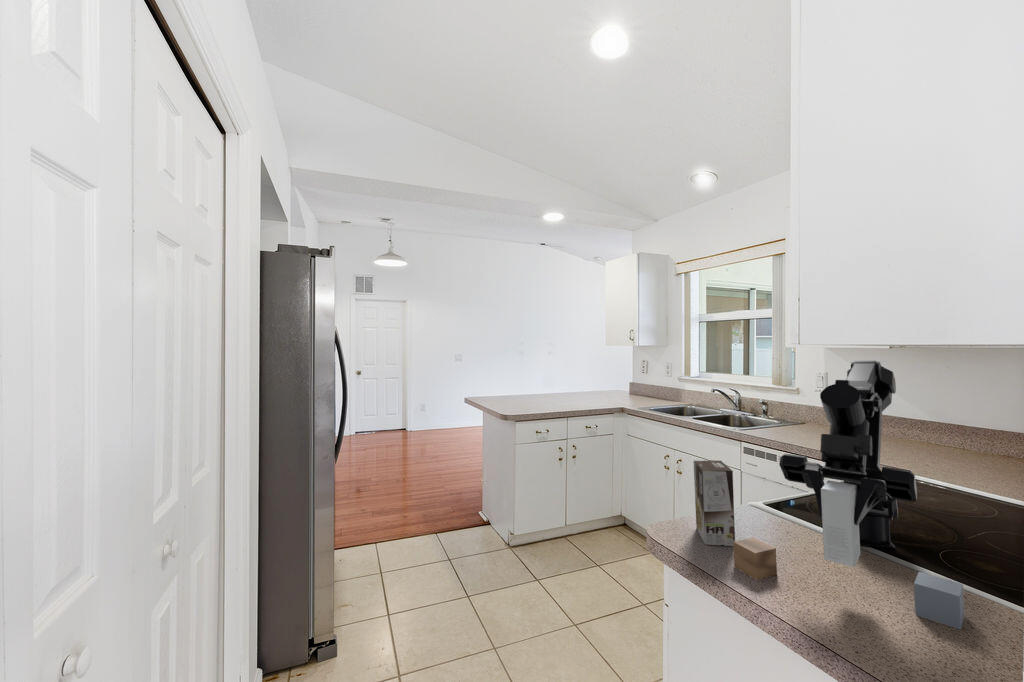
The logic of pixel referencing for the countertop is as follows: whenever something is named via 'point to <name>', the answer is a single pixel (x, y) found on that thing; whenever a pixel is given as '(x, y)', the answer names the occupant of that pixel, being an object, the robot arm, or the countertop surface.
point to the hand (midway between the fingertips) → (838, 520)
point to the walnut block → (755, 558)
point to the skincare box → (840, 523)
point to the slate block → (939, 600)
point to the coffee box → (714, 502)
